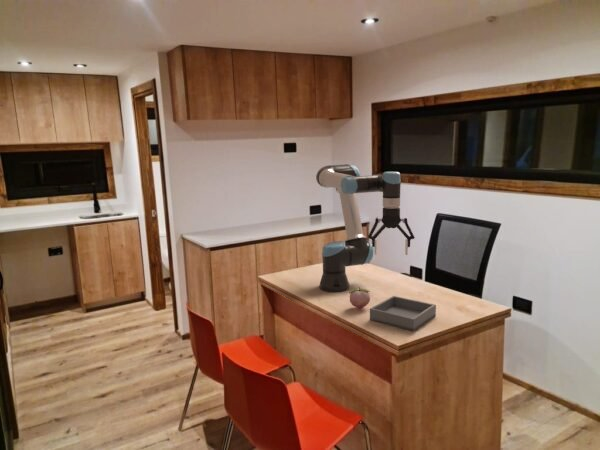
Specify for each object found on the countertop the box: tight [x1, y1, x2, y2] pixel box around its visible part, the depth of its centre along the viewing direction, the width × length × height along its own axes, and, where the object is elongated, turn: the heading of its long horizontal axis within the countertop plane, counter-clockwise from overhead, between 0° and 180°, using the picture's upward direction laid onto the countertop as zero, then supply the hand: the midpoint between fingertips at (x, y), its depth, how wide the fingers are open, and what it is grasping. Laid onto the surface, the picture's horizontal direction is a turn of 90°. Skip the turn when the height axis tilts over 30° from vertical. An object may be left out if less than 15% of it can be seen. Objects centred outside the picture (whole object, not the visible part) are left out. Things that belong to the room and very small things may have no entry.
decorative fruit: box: [349, 287, 371, 310], centre depth 203 cm, size 9×8×10 cm
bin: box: [369, 295, 437, 333], centre depth 190 cm, size 20×20×5 cm
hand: (390, 254), depth 204 cm, fingers open, 13 cm apart
